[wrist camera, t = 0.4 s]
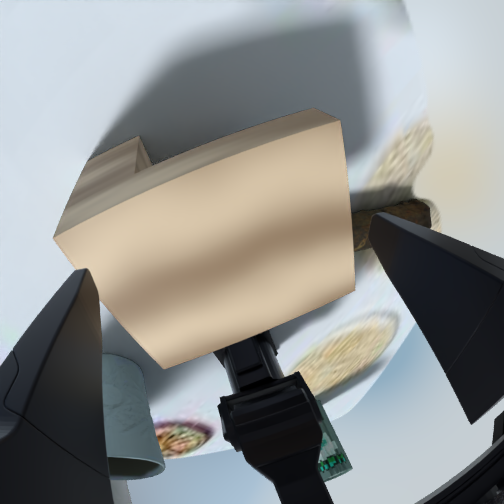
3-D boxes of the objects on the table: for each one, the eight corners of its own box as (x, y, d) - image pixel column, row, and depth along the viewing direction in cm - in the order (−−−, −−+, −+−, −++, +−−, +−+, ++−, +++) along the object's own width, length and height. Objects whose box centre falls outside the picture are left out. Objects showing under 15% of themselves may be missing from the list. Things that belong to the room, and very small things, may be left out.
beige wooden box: (296, 215, 26) (355, 290, 19) (152, 274, 26) (164, 369, 18) (265, 88, 19) (340, 120, 12) (87, 161, 19) (52, 238, 11)
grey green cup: (108, 337, 28) (113, 449, 19) (167, 377, 35) (186, 469, 26) (51, 370, 29) (48, 465, 20) (110, 402, 36) (119, 485, 26)
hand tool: (413, 192, 29) (442, 214, 26) (404, 224, 32) (430, 248, 28) (233, 210, 25) (250, 243, 21) (234, 251, 27) (249, 287, 24)
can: (307, 399, 51) (341, 471, 39) (325, 401, 54) (357, 466, 43) (282, 415, 52) (312, 485, 41) (302, 416, 56) (330, 480, 44)
